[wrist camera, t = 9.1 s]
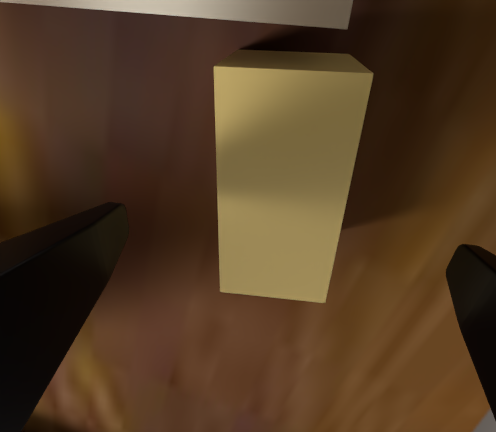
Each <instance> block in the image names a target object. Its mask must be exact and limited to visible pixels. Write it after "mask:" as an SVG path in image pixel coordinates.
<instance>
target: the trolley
mask: <svg viewBox="0 0 496 432" xmlns="http://www.w3.org/2000/svg"><path fill="white" fill-rule="evenodd" d="M0 2H9V3H22V4H34V5H47V6H59V7H72V8H85V9H97V10H110V11H122V12H135V13H148V14H160V15H173V16H185V17H198V18H211V19H223V20H236V21H248V22H261V23H274V24H286V25H299V26H311V27H324V28H337V29H348V24H349V19H350V13H351V8H352V3H353V0H0Z"/></svg>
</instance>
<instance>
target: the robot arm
mask: <svg viewBox="0 0 496 432" xmlns="http://www.w3.org/2000/svg"><path fill="white" fill-rule="evenodd" d="M128 234H129V225H128V219H127V213H126V208H125V206H124V205H123V204H121V203H113V202H108V203H105V204H102V205H100V206H97V207H94V208H92V209H89V210H86V211H84V212H81V213H79V214H76V215H73V216H71V217H68V218H65V219H63V220H60V221H57V222H55V223H52V224H49V225H47V226H44V227H41V228H39V229H36V230H33V231H31V232H28V233H25V234H23V235H20V236H17V237H15V238H12V239H9V240H7V241H4V242H1V243H0V432H21V431H22V429H23V428H24V426H25V424H26V422H27V421H28V419H29V417H30V416H31V414H32V412H33V410H34V409H35V407H36V405H37V404H38V402H39V400H40V398H41V397H42V395H43V393H44V391H45V390H46V388H47V386H48V385H49V383H50V381H51V379H52V378H53V376H54V374H55V373H56V371H57V369H58V367H59V366H60V364H61V362H62V360H63V359H64V357H65V355H66V354H67V352H68V350H69V348H70V347H71V345H72V343H73V342H74V340H75V338H76V336H77V335H78V333H79V331H80V329H81V328H82V326H83V324H84V323H85V321H86V319H87V317H88V316H89V314H90V312H91V311H92V309H93V307H94V305H95V304H96V302H97V300H98V298H99V297H100V295H101V293H102V292H103V290H104V288H105V286H106V284H107V283H108V281H109V279H110V277H111V274H112V272H113V270H114V268H115V265H116V263H117V261H118V258H119V256H120V254H121V251H122V249H123V247H124V245H125V242H126V240H127V238H128ZM446 278H447V282H448V286H449V290H450V294H451V297H452V301H453V305H454V309H455V313H456V316H457V320H458V323H459V327H460V330H461V333H462V335H463V338H464V341H465V343H466V346H467V348H468V351H469V354H470V356H471V359H472V361H473V364H474V366H475V369H476V372H477V374H478V377H479V379H480V382H481V384H482V387H483V390H484V392H485V395H486V397H487V400H488V402H489V405H490V408H491V410H492V413H493V415H494V418H495V420H496V255H494V254H492V253H490V252H489V251H487V250H485V249H483V248H482V247H480V246H476V245H468V244H462V245H459V246H458V247H457V249H456V251H455V253H454V255H453V257H452V259H451V261H450V263H449V264H448V266H447V269H446Z"/></svg>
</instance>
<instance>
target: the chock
mask: <svg viewBox="0 0 496 432" xmlns="http://www.w3.org/2000/svg"><path fill="white" fill-rule="evenodd" d="M373 74H374V73H372V72H371V71H370V70H369V69H367V68H366V67H365V66H364V65H362V64H361V63H360V62H359V61H357V60H356V59H355V58H354V57H352V56H351V55H350V54H339V53H314V52H289V51H263V50H237V51H235V52H234V53H232V54H231V55H229V56H228V57H227V58H225V59H224V60H222V61H221V62H219V63H218V64H216V65H215V66H214V94H215V129H216V164H217V200H218V235H219V270H220V292H226V293H235V294H245V295H254V296H264V297H273V298H282V299H292V300H301V301H311V302H320V303H325V301H326V296H327V292H328V287H329V282H330V277H331V273H332V268H333V263H334V259H335V254H336V249H337V244H338V240H339V235H340V230H341V226H342V221H343V216H344V211H345V207H346V202H347V197H348V192H349V188H350V183H351V178H352V174H353V169H354V164H355V159H356V155H357V150H358V145H359V141H360V136H361V131H362V126H363V122H364V117H365V112H366V107H367V103H368V98H369V93H370V89H371V84H372V79H373Z"/></svg>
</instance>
